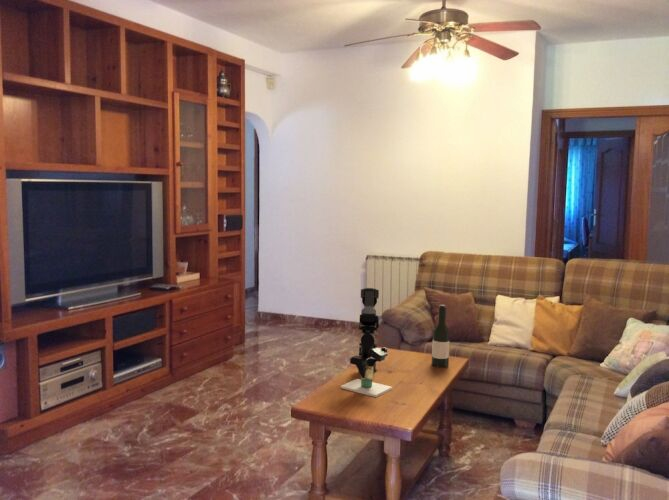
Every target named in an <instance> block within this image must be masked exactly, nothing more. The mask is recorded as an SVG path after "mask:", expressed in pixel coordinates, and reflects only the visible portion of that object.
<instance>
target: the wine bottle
mask: <svg viewBox="0 0 669 500" xmlns="http://www.w3.org/2000/svg"><path fill="white" fill-rule="evenodd" d="M446 312H447V307H446V305H445V304H439V306H438V321H437V324H436V326H435V327H434V329H433V331H432V342H431V343H432V345H431V346H432V347H431V365H432V366H433V365H434V366H433V367H436V366H438V367H437V368H446V367H445V366H447V367H449V364H450V363H449V362H450V361H449V360H450V359H449V358H450V343H451V342H450V341H451V340H450V337H451V332H450V330H449V328H448V326H447V324H446V319H447V317H446V315H447V313H446Z"/></svg>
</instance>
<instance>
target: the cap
mask: <svg viewBox="0 0 669 500" xmlns="http://www.w3.org/2000/svg"><path fill="white" fill-rule="evenodd" d="M373 368H374V366H373V365H369V364H368V365H367V366H366V371H365V377H364V378H362V377H361V376H360V379H361V378H362V379H372V380H373V379H374V372H373Z"/></svg>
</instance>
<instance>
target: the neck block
mask: <svg viewBox="0 0 669 500" xmlns="http://www.w3.org/2000/svg"><path fill="white" fill-rule="evenodd" d="M340 388H341V389H343V390H347V391H351V392H354V393H359V394H361V395H362V394H363V395H365V396H369V397H373V398H378V397H379V396H382V395H383V394H385V393H388V392H389V391H391V390H393V387H392V386H390V385H386V384H382V383H378V382H374V381H373V379H362V378H361V377H360V378H355V379H353V380H350V381H349V382H346V383H343V384H342V385H341V386H340Z"/></svg>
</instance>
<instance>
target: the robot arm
mask: <svg viewBox="0 0 669 500" xmlns="http://www.w3.org/2000/svg"><path fill="white" fill-rule="evenodd" d="M379 292H380V290H379V289H377V288H373V287H363V288H362V289H360V299H361V303H362V304H363V306H364V308H362V309H361V314H359V320H358V321H359V323H358V324H359V327H358V331H361V333H360V334H361V336H360V342H359V343H358V345H359V346H358V349H359V350H358V354H357V355H354V356H351V357H350V358H349V364H350V365H355V366H356V368H357V371H358V372H359V375H360V378H361V377H362V378H364V377H365V371H366V366H367V365H368V364H369V365H373V366H374V368H373V373H375V372H377V367H376V366H377V363H378V362H379V363H380V362H382V361H384V360H385V359H386V357H387V356H388V348H387V347H384V346H383V347H382V348H381V347H378V344H377V343H376V341H375V338H376V337H375V335H376V331H378V329H379V326H380V325H379V324H380V323H379V322H380V321H379V320H380V319H379V316H378V315H377V310H376V309H375V307H376V305H377V303H378V299H379V297H380V296H379V294H380V293H379Z"/></svg>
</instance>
